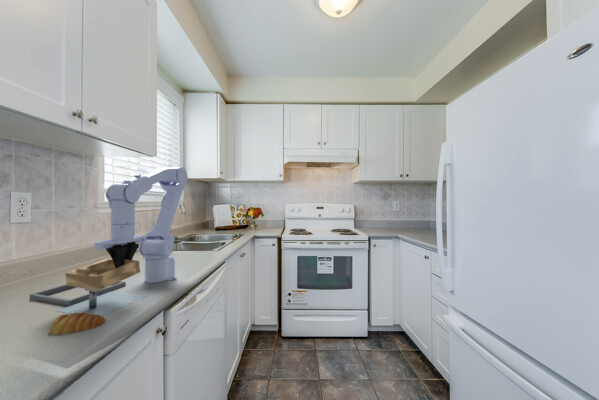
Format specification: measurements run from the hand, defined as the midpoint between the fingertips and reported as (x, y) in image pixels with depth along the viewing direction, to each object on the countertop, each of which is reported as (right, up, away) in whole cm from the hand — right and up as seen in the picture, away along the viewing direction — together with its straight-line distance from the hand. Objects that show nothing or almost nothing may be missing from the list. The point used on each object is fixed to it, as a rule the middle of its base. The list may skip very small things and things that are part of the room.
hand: (122, 269), depth 72 cm
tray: (-15, -9, +3) cm, 18 cm away
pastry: (+2, -10, -17) cm, 19 cm away
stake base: (-1, -9, -5) cm, 10 cm away
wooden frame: (-1, -1, -5) cm, 5 cm away
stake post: (-2, -9, -8) cm, 12 cm away
